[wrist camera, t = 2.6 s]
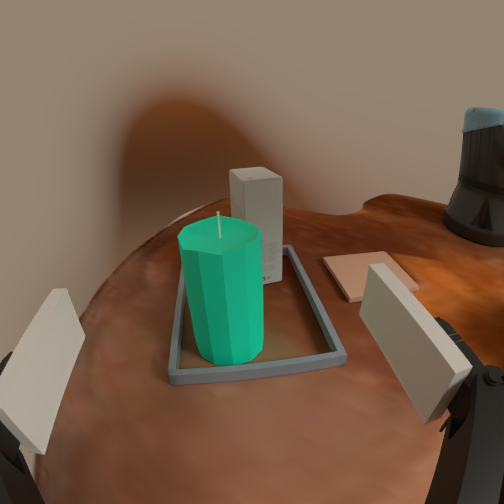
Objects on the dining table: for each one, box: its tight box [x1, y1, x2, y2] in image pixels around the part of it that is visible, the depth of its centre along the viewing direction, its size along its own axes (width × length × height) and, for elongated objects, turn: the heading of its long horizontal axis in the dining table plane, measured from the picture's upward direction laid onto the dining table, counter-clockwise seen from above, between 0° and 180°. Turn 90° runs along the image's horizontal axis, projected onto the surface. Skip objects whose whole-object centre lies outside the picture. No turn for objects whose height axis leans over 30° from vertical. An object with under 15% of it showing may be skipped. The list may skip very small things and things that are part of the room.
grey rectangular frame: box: [168, 245, 347, 385], centre depth 31 cm, size 14×20×1 cm
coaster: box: [323, 251, 419, 303], centre depth 35 cm, size 9×9×1 cm
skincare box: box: [229, 167, 283, 284], centre depth 34 cm, size 6×4×12 cm
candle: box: [178, 211, 264, 366], centre depth 24 cm, size 6×6×12 cm
